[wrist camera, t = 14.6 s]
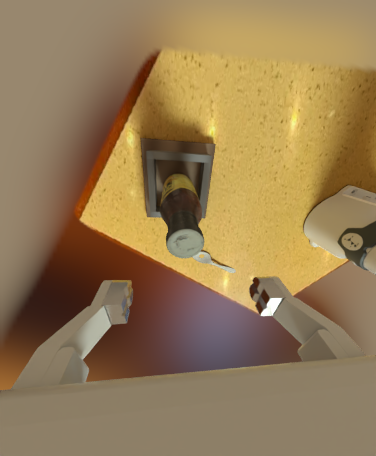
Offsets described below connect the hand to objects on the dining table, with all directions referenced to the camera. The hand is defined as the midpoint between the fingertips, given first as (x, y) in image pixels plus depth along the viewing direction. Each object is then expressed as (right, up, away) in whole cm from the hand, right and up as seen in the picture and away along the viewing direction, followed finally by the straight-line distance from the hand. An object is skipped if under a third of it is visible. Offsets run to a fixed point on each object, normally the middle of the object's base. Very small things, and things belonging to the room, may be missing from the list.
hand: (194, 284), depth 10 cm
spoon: (+9, -7, +38) cm, 40 cm away
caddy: (-3, +14, +23) cm, 27 cm away
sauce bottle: (-3, +13, +23) cm, 26 cm away
